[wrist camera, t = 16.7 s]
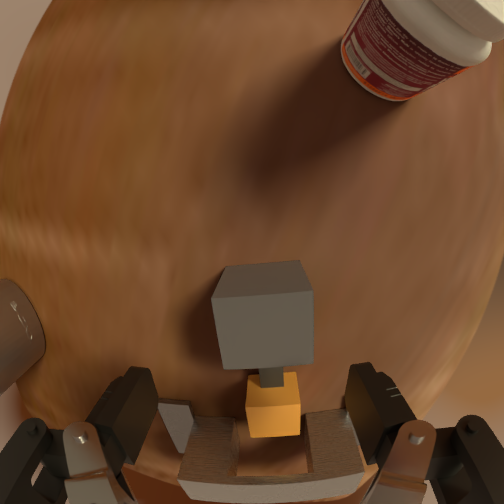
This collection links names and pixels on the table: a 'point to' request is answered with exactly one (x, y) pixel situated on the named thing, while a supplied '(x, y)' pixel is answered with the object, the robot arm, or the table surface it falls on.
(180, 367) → the table surface
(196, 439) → the housing
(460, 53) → the pill bottle
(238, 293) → the plug
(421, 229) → the table surface
